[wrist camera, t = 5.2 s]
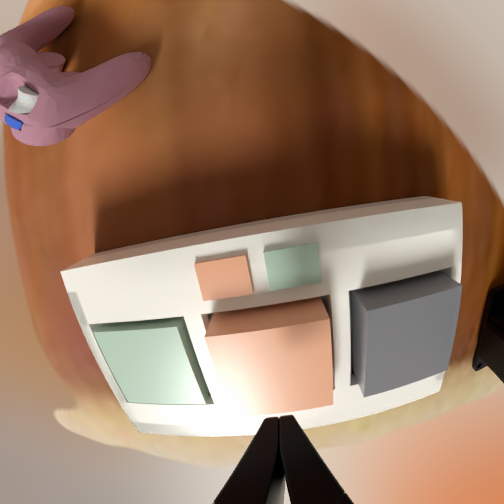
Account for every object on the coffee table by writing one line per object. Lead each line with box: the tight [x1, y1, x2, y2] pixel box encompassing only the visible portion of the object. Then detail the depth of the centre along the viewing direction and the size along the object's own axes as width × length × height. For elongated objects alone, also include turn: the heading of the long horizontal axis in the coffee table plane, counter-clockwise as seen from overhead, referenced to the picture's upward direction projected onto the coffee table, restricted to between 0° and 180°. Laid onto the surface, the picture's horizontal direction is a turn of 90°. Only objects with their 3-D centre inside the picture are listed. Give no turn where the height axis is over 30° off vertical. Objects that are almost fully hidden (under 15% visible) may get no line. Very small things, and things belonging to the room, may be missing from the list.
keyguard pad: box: [60, 196, 463, 436], centre depth 12 cm, size 17×10×3 cm, turn 101°
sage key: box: [93, 316, 209, 404], centre depth 12 cm, size 4×4×2 cm
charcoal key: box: [350, 270, 462, 397], centre depth 10 cm, size 4×4×2 cm
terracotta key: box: [204, 296, 333, 418], centre depth 10 cm, size 4×4×2 cm
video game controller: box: [0, 6, 151, 146], centre depth 8 cm, size 10×5×7 cm, turn 46°
